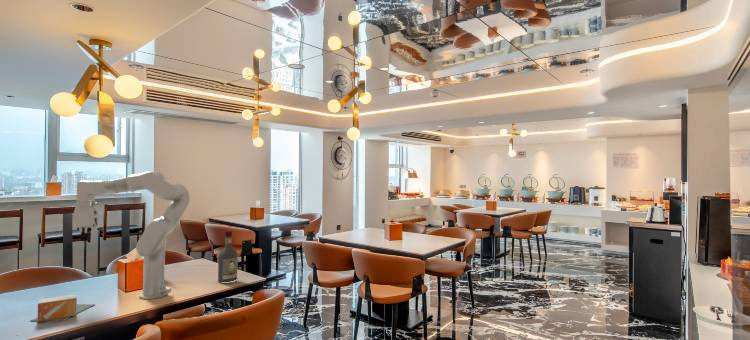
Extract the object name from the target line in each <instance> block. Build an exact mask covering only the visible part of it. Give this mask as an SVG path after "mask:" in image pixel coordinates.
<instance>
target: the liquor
mask: <svg viewBox="0 0 750 340" xmlns="http://www.w3.org/2000/svg"><path fill="white" fill-rule="evenodd" d="M224 231H225V232H224V233H225V234H224V236H225V239H224V240H225V243H224V244H225V245H224V247H223V249H222V250H221V251H220V252H218V263H217V265H218V266H217V267H218V269H217V270H218V272H217V273H218V274H217V281H218V282H219V281H220V282H230V281H234V280H236V279H237V280H238V263H239V262H238V261H239V260H238V257H239V256H238V255H239V254H238V252H237V251H236V249H234V247H233V245H232V243H233V241H232V239H233V237H232V236H233V231H232V230H224ZM220 282H219V283H220Z"/></svg>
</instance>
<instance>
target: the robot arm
mask: <svg viewBox="0 0 750 340" xmlns="http://www.w3.org/2000/svg"><path fill="white" fill-rule="evenodd" d="M165 179H166V178H165V175H164V174H163V173H161V172H160V171H155V170H154V171H153V170H152V171H144V172H142V173H138V174H137V173H135V174H130V175H127V176H125V177H124V178H123V177H121V178H117V179H116V178H115V179H105V180H104V179H103V180H79V181H78V182H77V183H76V207H75V208H74V210H73V215H72V216H73V217H72V226H73V229H74V230H76V231H78V232H79V234H80V241H81V242H87V241H89V239H90V233H91V231H93V230H96V229H97V228H98V227H97V226H99V212H98V211H99V210H98V208H97V207H96V206H97V205H98V203H97V202H96V196H105V195H108V196H109V195H115V194H120V193H121V194H122V193H127V192H137V191H138V192H139V191H143V190H147V191H148V192H150V193H152V194H153V195H154V196H157V197H159V198H160V199H161V200H164V201H169V202H170V203H169V204H168V206H166V208H165V209H164V212H163V213H162V214H161V216H160V217H159V218H155V219H153V220H152V221H150V222H149V223H148V225H147V226H146V228H145V229H144V231H143V233H142V234H141V236H140V237H139V239H138V241H137V243H136V246H135V250H136V253H137V254H138V255H139V256H140V257H143V265H142V266H143V269H142V270H143V271H142V272H143V274H142V276H143V277H142V292H141V293H139V298H140V299H144V300H151V299H159V298H162V297H165V296H166V295H167V294H168V293H171V292H172V287H167V285H166V284H165V263H166V262H165V260H166V250H167V240H166V238H165V236H168V235H170V234H171V233H173V232H174V230H175V229H176V226H177V225H178V224H179V222H180V219H182V216H183V215H184V213H185V212H186V210H187V208H188V206H189V204H190V203H189V202H190V198H191V197H190V193H189V191H188V189H187V187H186V186H185V185H183V184H181V183H170V182H167V181H166V180H165Z"/></svg>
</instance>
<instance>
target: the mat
mask: <svg viewBox="0 0 750 340" xmlns="http://www.w3.org/2000/svg"><path fill="white" fill-rule="evenodd" d="M95 305H96V304H93V303H92V304H89V303H88V304H86V303H80V304H77V307H76V315H78V314H80V313H81V312H84V311H86V310H88V309H90V308H92V307H94V306H95ZM77 313H78V314H77ZM67 318H68V319H70V318H69V317H65V318H59V319H53V320H47V321H46V322H52V321H60V322H61V321H62V322H63V320H64V321H65V319H66V320H68V319H67ZM37 319H38V316H37V317H35V318H33V319H30V322H37Z"/></svg>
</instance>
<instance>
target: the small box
mask: <svg viewBox="0 0 750 340" xmlns="http://www.w3.org/2000/svg"><path fill="white" fill-rule="evenodd" d="M77 298H78V297H77V293H76V294H68V295H60V296H55V297H48V298H47V297H46V298H41V299H40V298H39V299H38V303H37V317H38V319H37V321H36V322H37V323H40V322H48V321H47V320H53V319H59V318H65V317H70V318H72V317H76V316H77V314H76V307H77V303H78V300H77ZM71 316H72V317H71Z"/></svg>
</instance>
